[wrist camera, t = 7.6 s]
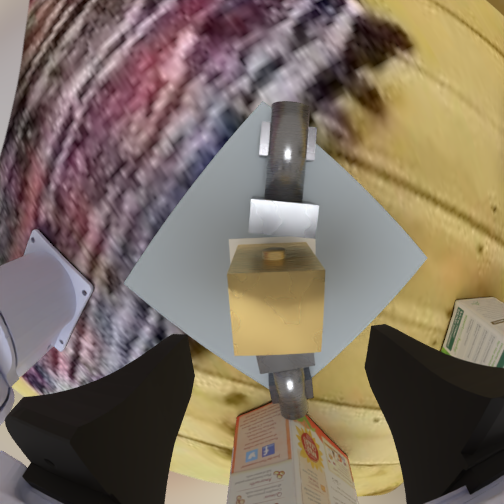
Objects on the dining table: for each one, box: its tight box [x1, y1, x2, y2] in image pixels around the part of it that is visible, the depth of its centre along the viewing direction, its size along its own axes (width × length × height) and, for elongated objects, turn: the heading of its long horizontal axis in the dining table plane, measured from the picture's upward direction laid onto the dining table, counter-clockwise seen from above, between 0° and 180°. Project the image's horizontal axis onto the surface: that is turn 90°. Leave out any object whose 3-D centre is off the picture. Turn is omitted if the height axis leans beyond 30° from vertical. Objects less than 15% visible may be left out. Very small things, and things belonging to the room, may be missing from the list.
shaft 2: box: [256, 353, 315, 420], centre depth 19 cm, size 7×4×3 cm, turn 10°
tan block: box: [227, 242, 325, 356], centre depth 16 cm, size 5×4×6 cm
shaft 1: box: [248, 101, 319, 239], centre depth 16 cm, size 7×4×3 cm, turn 175°
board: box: [124, 101, 427, 389], centre depth 20 cm, size 16×16×1 cm
